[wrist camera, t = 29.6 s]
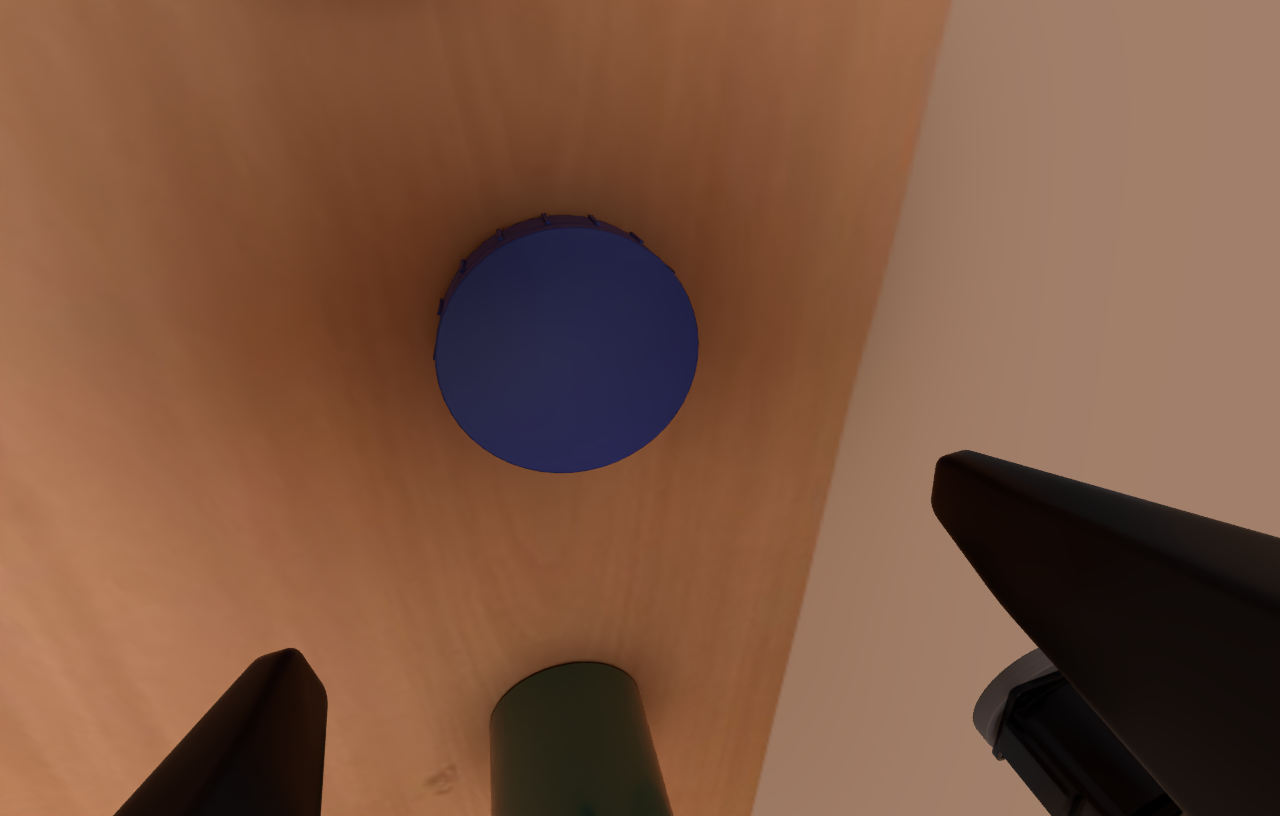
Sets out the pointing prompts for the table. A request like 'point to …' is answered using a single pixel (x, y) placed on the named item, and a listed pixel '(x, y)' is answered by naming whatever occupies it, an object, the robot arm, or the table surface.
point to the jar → (574, 747)
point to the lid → (564, 344)
